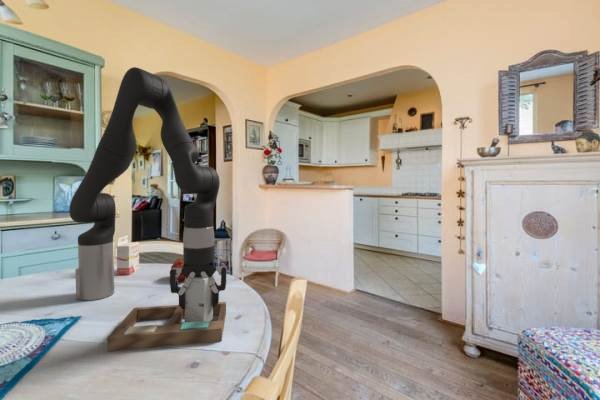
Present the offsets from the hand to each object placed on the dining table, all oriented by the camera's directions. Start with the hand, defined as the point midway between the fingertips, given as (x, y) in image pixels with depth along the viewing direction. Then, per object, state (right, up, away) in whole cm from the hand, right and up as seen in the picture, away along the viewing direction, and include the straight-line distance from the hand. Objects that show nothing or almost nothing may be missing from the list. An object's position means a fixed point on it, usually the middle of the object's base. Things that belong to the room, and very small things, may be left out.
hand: (199, 306), depth 73 cm
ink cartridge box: (-45, -2, +43) cm, 62 cm away
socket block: (-5, -5, -2) cm, 8 cm away
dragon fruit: (-19, -3, +35) cm, 40 cm away
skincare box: (0, -4, 0) cm, 4 cm away
